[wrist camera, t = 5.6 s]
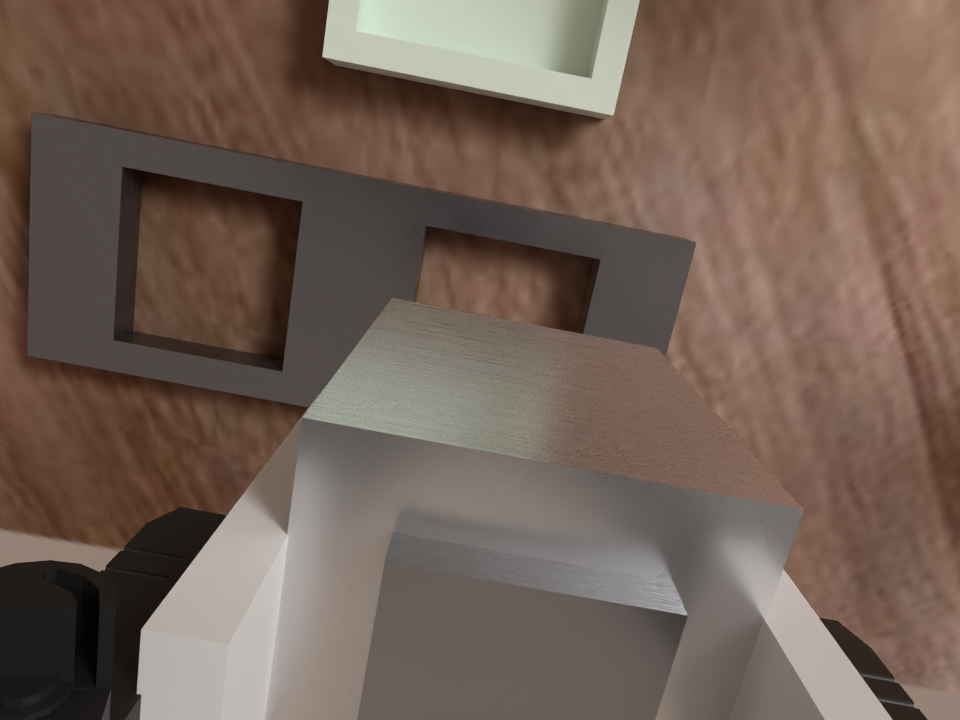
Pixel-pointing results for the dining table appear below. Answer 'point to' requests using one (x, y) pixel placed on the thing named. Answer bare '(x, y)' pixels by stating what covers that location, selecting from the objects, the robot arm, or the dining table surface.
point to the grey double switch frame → (319, 259)
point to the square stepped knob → (520, 533)
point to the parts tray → (492, 47)
